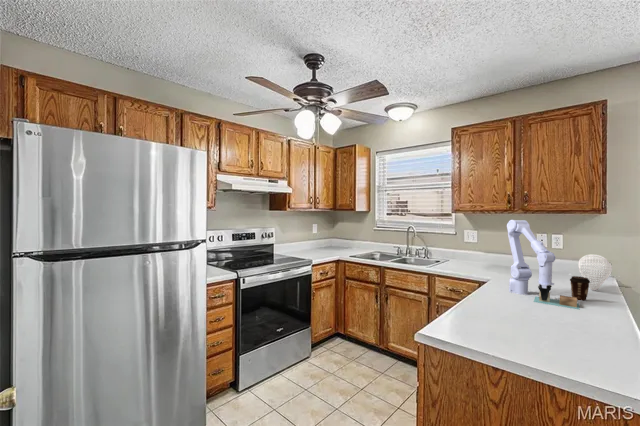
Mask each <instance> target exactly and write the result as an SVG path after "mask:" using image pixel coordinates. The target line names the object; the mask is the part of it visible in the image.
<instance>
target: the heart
mask: <svg viewBox="0 0 640 426" xmlns="http://www.w3.org/2000/svg"><path fill="white" fill-rule="evenodd" d="M578 271H579V273H580V275H581V277H584V278H585V277H586V278H588V279H589V281H590V283H589V289H590V290H592V291H597V290H598V289H599V288H600V287H601V286H602V285H603V284H604V283H605V281H606V280H607V279H608V278H609V277H610V275H611V274H612V272H613V267H612V265H611V263H610V262H609V260H608V259H607V258H606V257H604V256H602V255H599V254H596V253H595V254H594V253H593V254H592V253H591V254H585V255H584V256H582V257H580V258H579V260H578Z"/></svg>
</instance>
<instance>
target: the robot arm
mask: <svg viewBox="0 0 640 426" xmlns="http://www.w3.org/2000/svg"><path fill="white" fill-rule="evenodd" d="M530 227H531V224H530V223H529V222H528V221H527V220H525V219H523V220H521V219H520V220H519V219H517V220H516V219H510V220H509V221H508V222H507V224H506V229H507V237H508V242H509V246H510V251H511V255H512V261H513V264H512V265H511V266H510V275H511V277H510V278H509V284H508V285H509V286H508V292H509V293H511V294H512V293H513V294H517V295H523V296H526V295H529V294H528V293H529V280H530V278H532V275H533V272H532V270H531V268H530V265H529V264H528V263H526V262H525V259H524V258H525V257H524V253H523V249H522V245H521V240H520V236H521V235H524V236H525V238H526V239H527V240H528V241H529V243H530V247H531V249H532V250H533V252H534V253H535V254H536V260H537V262H538V263H537V264H538V281H537V283H538V285H537V288H538V290H539V292H540V293H541V298H542V300H546V301H547V298H548V294H549V292H550V291H551V290H552V286H555V283H554V282H552V280H553V263H554V262H555V261H556V255H555V253H554V252H551V251H550V250H548V249H547V247H546V246H545V244H544V242H543V241H541V240H538V238H537V237H536V235H535V234H534V233H533V231H532V229H531V228H530Z"/></svg>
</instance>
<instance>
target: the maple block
mask: <svg viewBox="0 0 640 426" xmlns="http://www.w3.org/2000/svg"><path fill="white" fill-rule="evenodd" d="M538 295H539V296H538V297H539V301H544V302H550V299H551V292H550V291H549V294H548V298H547V301H546V300H542V298H541V293H540V291H539V294H538Z"/></svg>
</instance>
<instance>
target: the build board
mask: <svg viewBox="0 0 640 426" xmlns="http://www.w3.org/2000/svg"><path fill="white" fill-rule="evenodd" d="M533 303H537V304H543V305H550V306H555V307H561V308H562V307H563V308H568V309H573V310H580V302H579V303H578V302H577V307H571V306H565V305H559V303H560V299H553V298H550V302H544V301H539V296H534V299H533Z"/></svg>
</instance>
